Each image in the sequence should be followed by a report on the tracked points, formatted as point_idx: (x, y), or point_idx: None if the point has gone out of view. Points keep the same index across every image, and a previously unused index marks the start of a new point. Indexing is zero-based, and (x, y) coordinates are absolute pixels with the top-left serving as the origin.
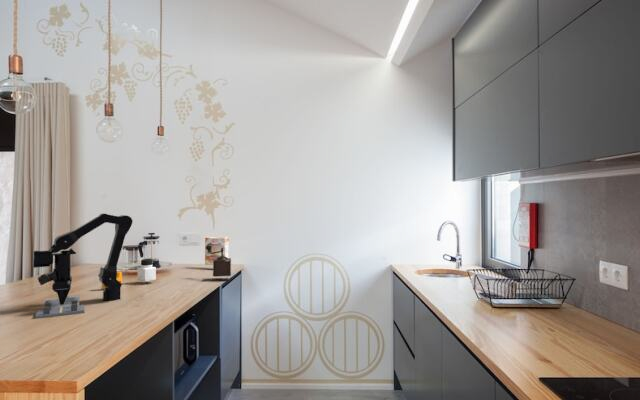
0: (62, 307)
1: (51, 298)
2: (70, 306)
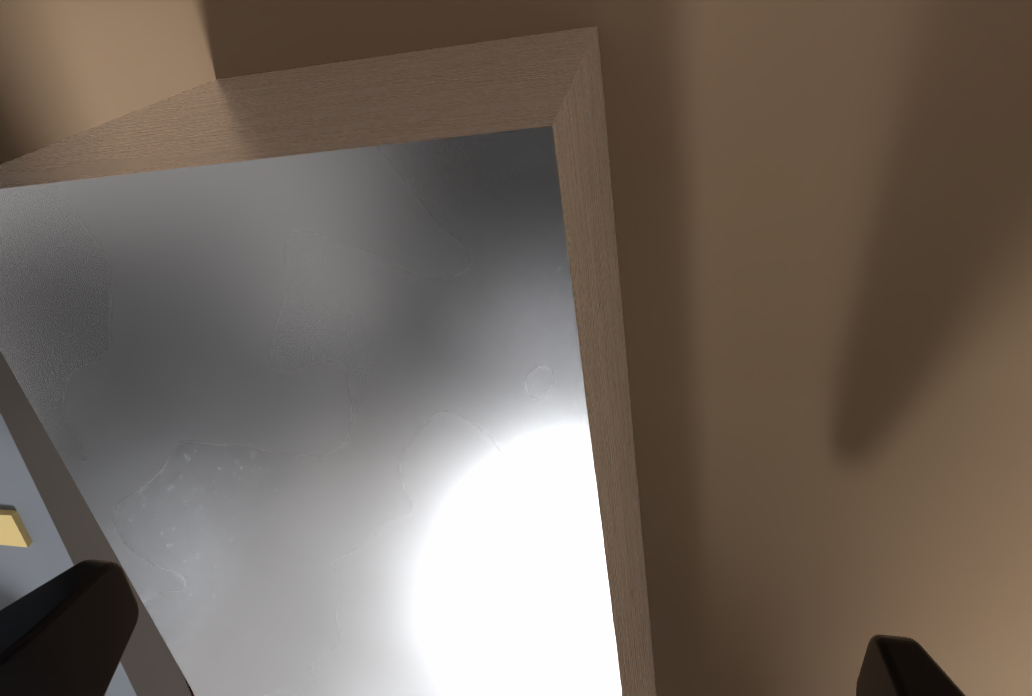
0: (25, 543)
1: (435, 477)
2: None
